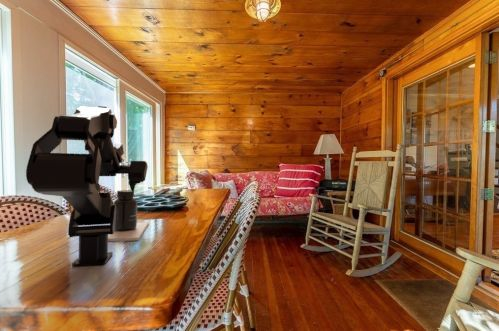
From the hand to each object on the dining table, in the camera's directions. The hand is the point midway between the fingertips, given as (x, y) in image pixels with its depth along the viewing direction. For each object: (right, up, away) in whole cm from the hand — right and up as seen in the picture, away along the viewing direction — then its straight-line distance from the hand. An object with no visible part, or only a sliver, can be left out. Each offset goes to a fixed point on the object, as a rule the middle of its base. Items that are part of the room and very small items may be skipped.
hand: (116, 190), depth 78 cm
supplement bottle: (0, -13, +6) cm, 14 cm away
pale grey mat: (0, -13, +5) cm, 14 cm away
